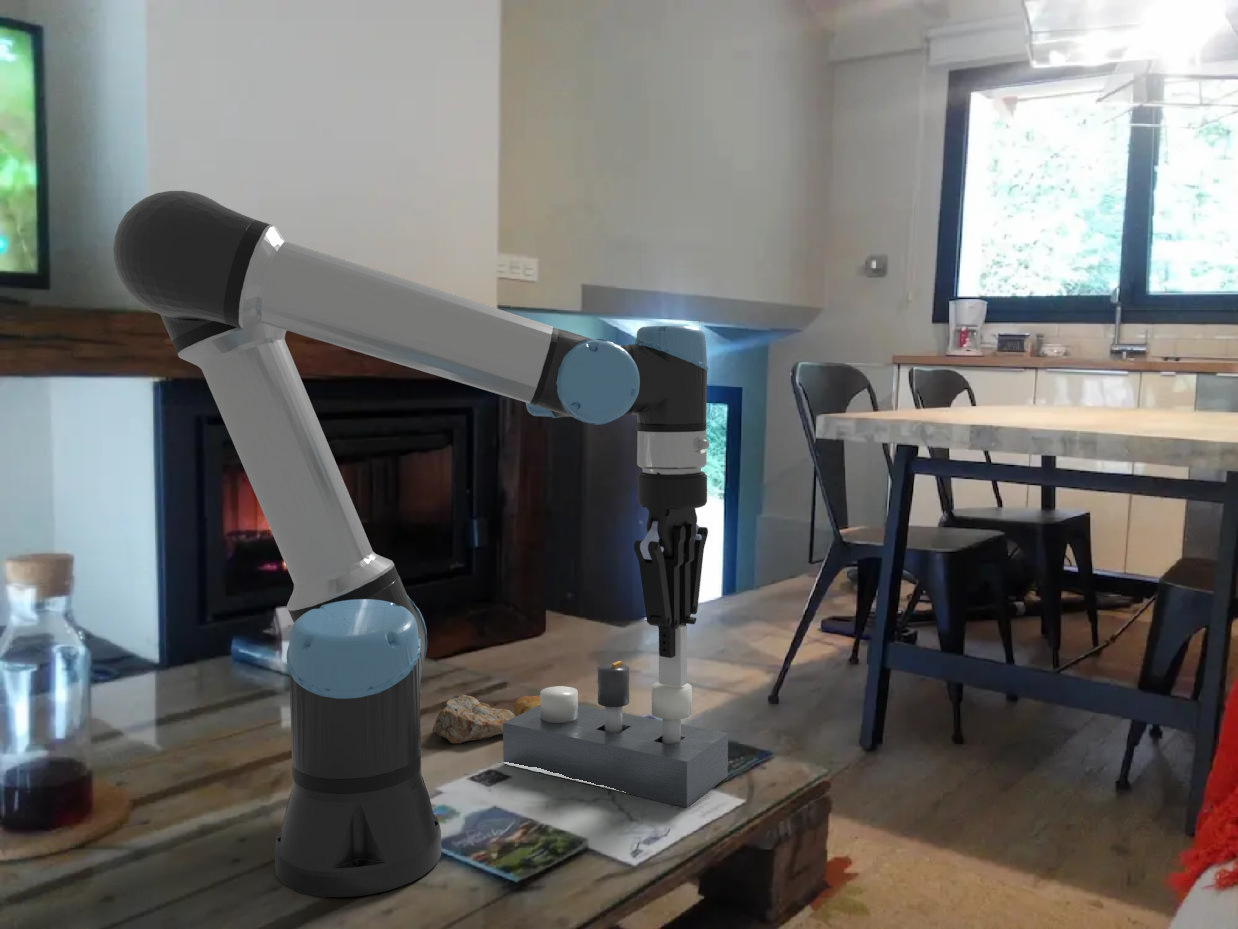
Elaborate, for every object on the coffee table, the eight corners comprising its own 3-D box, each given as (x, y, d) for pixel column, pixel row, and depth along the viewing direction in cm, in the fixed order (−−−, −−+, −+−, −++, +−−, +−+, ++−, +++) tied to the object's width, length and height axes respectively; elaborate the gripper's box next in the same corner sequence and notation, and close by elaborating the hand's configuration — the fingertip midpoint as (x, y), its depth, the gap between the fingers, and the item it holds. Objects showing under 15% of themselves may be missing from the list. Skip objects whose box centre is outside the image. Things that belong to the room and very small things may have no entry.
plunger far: (564, 763, 121) (564, 699, 121) (533, 756, 124) (532, 693, 123) (585, 751, 125) (585, 689, 124) (554, 744, 127) (554, 684, 127)
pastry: (500, 715, 140) (500, 687, 140) (547, 708, 144) (547, 681, 143) (528, 737, 132) (528, 707, 132) (576, 729, 135) (576, 700, 135)
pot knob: (619, 748, 118) (618, 670, 117) (591, 742, 120) (591, 666, 119) (635, 738, 121) (635, 662, 120) (608, 733, 123) (608, 658, 122)
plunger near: (679, 763, 113) (680, 694, 113) (644, 755, 116) (644, 688, 115) (698, 750, 117) (698, 684, 116) (663, 743, 119) (663, 678, 119)
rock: (430, 749, 128) (510, 735, 128) (423, 700, 129) (502, 686, 129) (448, 742, 137) (523, 729, 136) (442, 696, 138) (516, 683, 137)
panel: (727, 776, 119) (728, 733, 118) (686, 808, 110) (687, 761, 110) (552, 738, 131) (552, 699, 131) (503, 764, 122) (502, 722, 122)
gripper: (674, 476, 106) (675, 705, 108) (729, 466, 117) (729, 673, 119) (611, 473, 110) (612, 694, 112) (670, 463, 121) (670, 664, 123)
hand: (672, 683), depth 116 cm, fingers closed
